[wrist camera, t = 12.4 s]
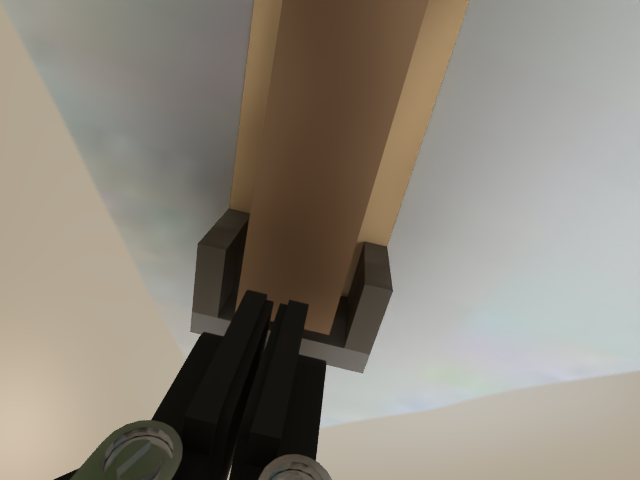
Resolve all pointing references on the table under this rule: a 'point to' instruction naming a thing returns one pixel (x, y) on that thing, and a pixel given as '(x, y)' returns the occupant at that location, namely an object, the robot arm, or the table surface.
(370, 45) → the slat
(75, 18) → the table surface
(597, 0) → the table surface
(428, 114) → the rail
